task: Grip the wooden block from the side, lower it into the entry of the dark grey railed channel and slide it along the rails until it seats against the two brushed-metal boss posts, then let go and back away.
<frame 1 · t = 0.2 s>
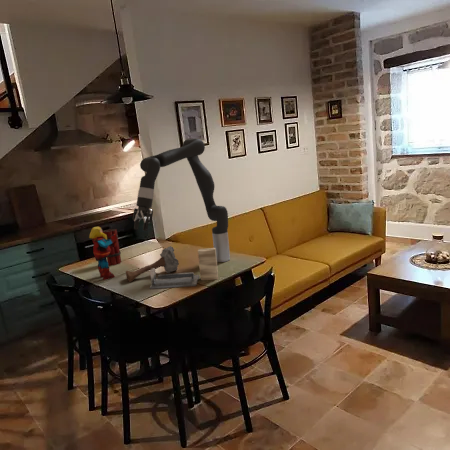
hand: (140, 229, 201), 31 cm above the table, tool tilted 20°, fingers open, 8 cm apart
hammer: (153, 275, 230), on the table
toy: (110, 277, 233), on the table
dynamite: (114, 263, 260), on the table
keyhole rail: (175, 282, 214), on the table
wooden block: (209, 278, 215), on the table
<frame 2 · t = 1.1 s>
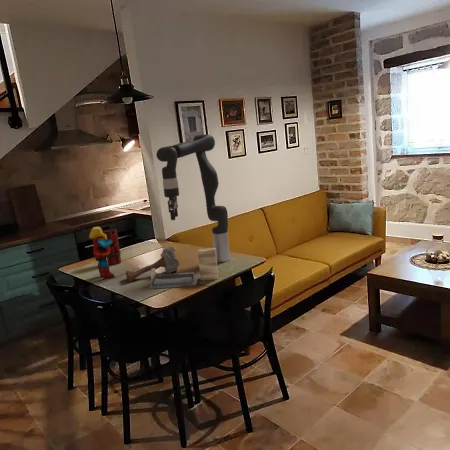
hand: (174, 218, 210), 34 cm above the table, tool pointing down, fingers open, 8 cm apart
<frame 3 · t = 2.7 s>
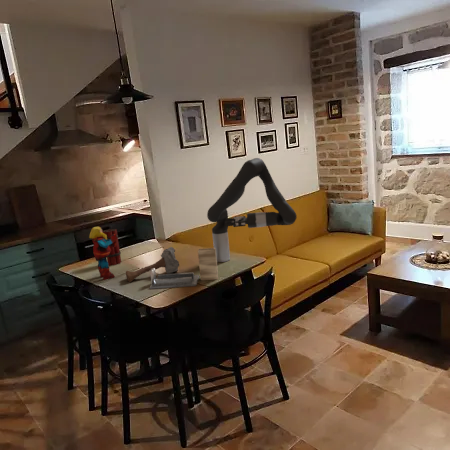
hand: (225, 222, 209), 30 cm above the table, tool horizontal, fingers open, 8 cm apart
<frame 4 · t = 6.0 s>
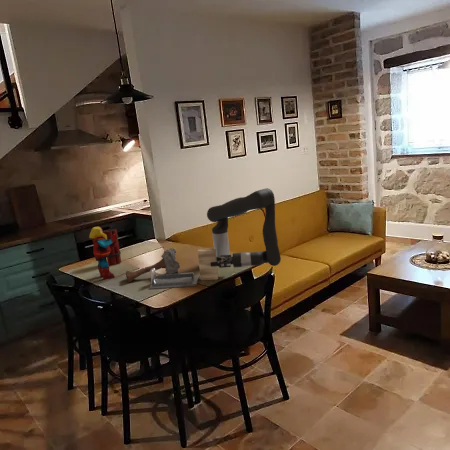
hand: (211, 261, 214), 9 cm above the table, tool horizontal, fingers open, 8 cm apart
hammer: (154, 277, 227), on the table
everything else where it was.
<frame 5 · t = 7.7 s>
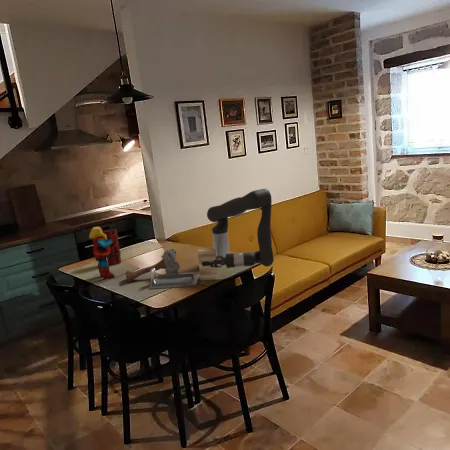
hand: (202, 262, 214), 9 cm above the table, tool horizontal, fingers closed on wooden block, 4 cm apart
wooden block: (209, 278, 215), on the table, touching gripper
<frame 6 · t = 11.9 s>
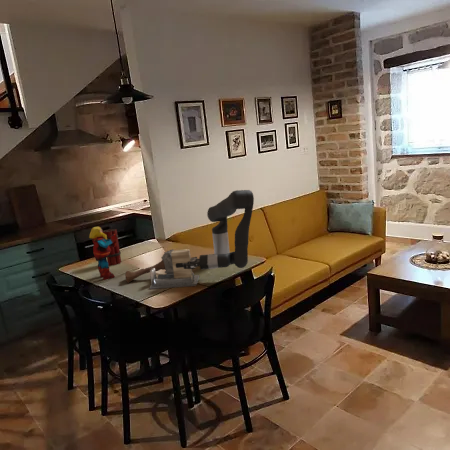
hand: (176, 264, 212), 10 cm above the table, tool horizontal, fingers closed on wooden block, 4 cm apart
hammer: (154, 278, 225), on the table
wooden block: (184, 280, 213), point 1 cm above the table, touching gripper
everything else where it was.
when the fingers open (10 cm above the table, at t = 15.2 s): wooden block stays where it is, resting on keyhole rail.
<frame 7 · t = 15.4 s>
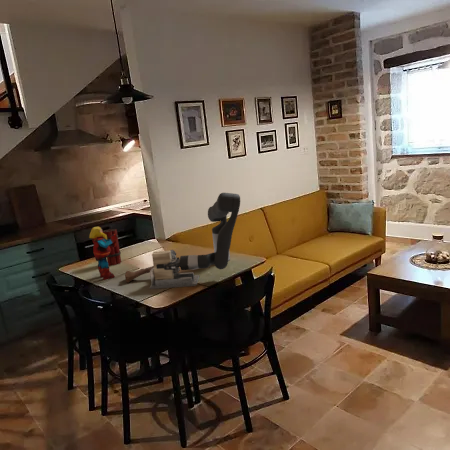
hand: (158, 264, 212), 10 cm above the table, tool horizontal, fingers open, 5 cm apart
wooden block: (165, 281, 214), point 1 cm above the table, touching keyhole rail
everything else where it was.
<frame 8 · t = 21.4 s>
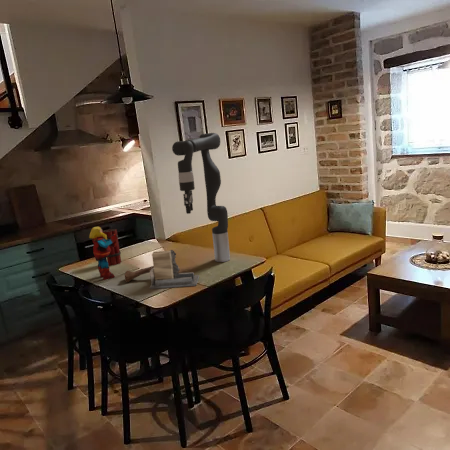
hand: (189, 212, 210), 36 cm above the table, tool pointing down, fingers open, 8 cm apart
nothing on the table moved.
at the end: wooden block 0.5 cm from the target spot on the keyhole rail, point 1.0 cm above the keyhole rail's base; wooden block tilted 0°; the gripper is holding nothing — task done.
